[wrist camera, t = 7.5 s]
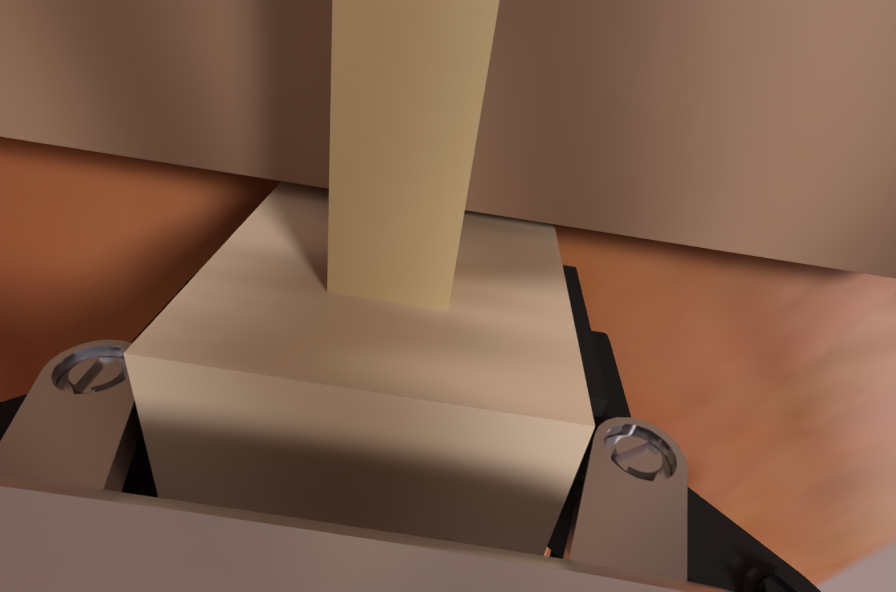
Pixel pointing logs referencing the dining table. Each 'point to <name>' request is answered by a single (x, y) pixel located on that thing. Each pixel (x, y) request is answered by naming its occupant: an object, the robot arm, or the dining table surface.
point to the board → (516, 109)
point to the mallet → (378, 320)
